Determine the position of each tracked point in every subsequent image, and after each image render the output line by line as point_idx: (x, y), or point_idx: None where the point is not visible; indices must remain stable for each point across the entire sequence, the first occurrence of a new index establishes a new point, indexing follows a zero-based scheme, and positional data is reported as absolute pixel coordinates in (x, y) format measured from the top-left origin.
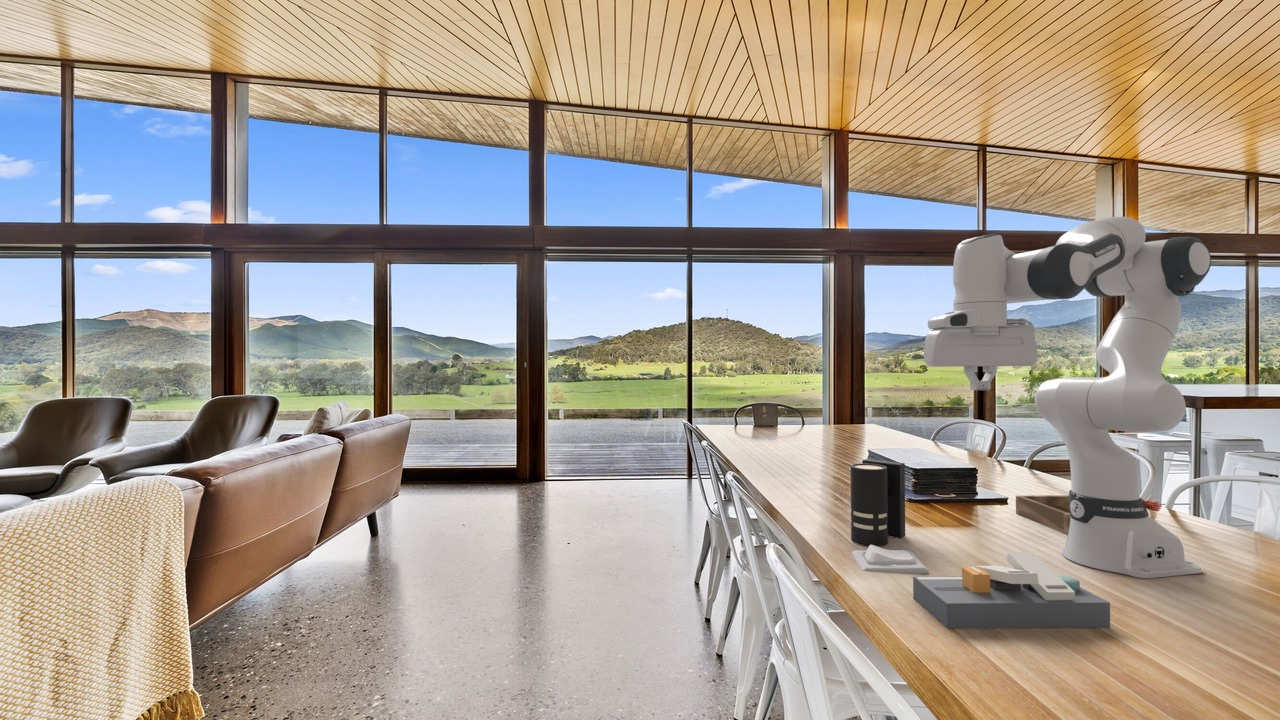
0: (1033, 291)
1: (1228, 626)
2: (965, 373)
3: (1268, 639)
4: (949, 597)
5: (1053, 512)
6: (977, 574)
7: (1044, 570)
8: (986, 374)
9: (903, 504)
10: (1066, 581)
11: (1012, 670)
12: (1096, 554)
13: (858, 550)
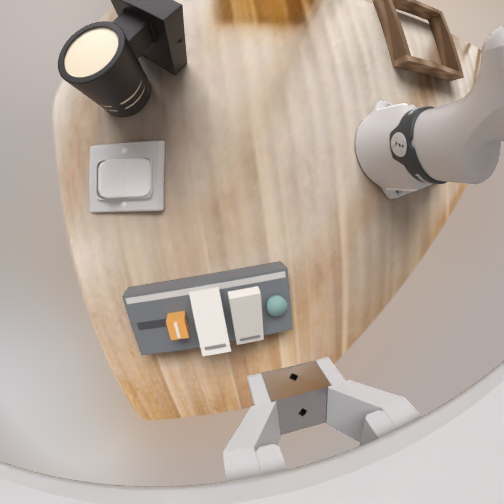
0: None
1: (375, 295)
2: (228, 449)
3: (381, 310)
4: (147, 343)
5: (399, 41)
6: (175, 339)
7: (253, 319)
8: (362, 415)
9: (180, 46)
10: (273, 312)
11: (175, 389)
12: (375, 171)
13: (96, 147)
